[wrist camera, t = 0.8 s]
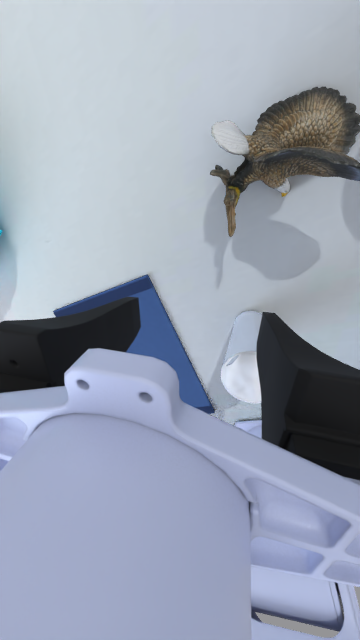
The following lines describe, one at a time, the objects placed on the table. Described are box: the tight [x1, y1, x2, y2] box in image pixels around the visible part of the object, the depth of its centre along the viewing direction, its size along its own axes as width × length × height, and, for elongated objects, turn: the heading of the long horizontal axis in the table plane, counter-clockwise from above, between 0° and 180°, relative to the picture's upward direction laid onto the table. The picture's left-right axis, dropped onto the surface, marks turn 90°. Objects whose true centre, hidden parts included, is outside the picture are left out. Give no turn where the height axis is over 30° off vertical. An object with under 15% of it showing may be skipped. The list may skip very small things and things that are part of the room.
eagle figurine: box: [210, 87, 360, 237], centre depth 15 cm, size 8×7×9 cm
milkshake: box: [221, 310, 262, 403], centre depth 20 cm, size 4×5×10 cm
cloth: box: [53, 275, 215, 414], centre depth 31 cm, size 20×14×1 cm
